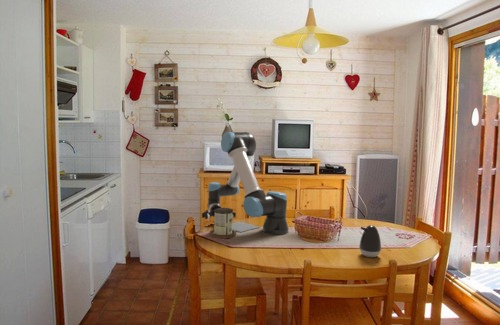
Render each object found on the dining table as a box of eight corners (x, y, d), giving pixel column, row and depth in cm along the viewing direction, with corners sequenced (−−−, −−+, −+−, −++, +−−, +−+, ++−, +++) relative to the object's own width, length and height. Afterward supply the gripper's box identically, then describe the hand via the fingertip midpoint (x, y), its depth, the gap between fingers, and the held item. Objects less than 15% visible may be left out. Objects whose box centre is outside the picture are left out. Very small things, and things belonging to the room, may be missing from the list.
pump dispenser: (355, 252, 200) (357, 222, 198) (375, 252, 200) (377, 222, 199) (362, 259, 190) (364, 228, 188) (383, 259, 190) (386, 228, 189)
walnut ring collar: (241, 234, 223) (241, 232, 223) (222, 239, 212) (222, 237, 212) (223, 229, 233) (223, 226, 233) (204, 233, 222) (204, 231, 222)
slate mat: (259, 227, 239) (259, 226, 239) (240, 232, 227) (240, 231, 227) (240, 222, 250) (240, 221, 250) (221, 226, 238) (221, 226, 238)
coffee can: (215, 231, 228) (216, 207, 227) (233, 232, 227) (234, 208, 226) (212, 236, 218) (212, 211, 216) (230, 237, 217) (231, 212, 215)
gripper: (235, 215, 252) (241, 224, 231) (195, 216, 247) (199, 225, 226) (235, 203, 251) (242, 211, 231) (196, 204, 246) (199, 212, 225)
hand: (220, 218), depth 228 cm, fingers open, 13 cm apart
